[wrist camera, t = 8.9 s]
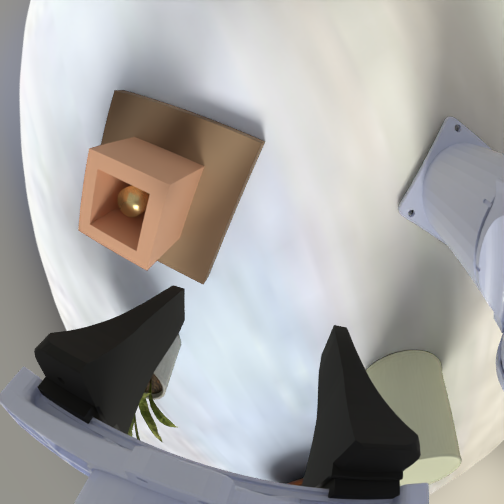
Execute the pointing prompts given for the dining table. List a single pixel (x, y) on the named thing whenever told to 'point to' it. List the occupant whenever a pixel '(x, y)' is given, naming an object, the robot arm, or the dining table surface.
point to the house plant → (157, 391)
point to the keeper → (197, 150)
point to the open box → (147, 179)
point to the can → (420, 410)
